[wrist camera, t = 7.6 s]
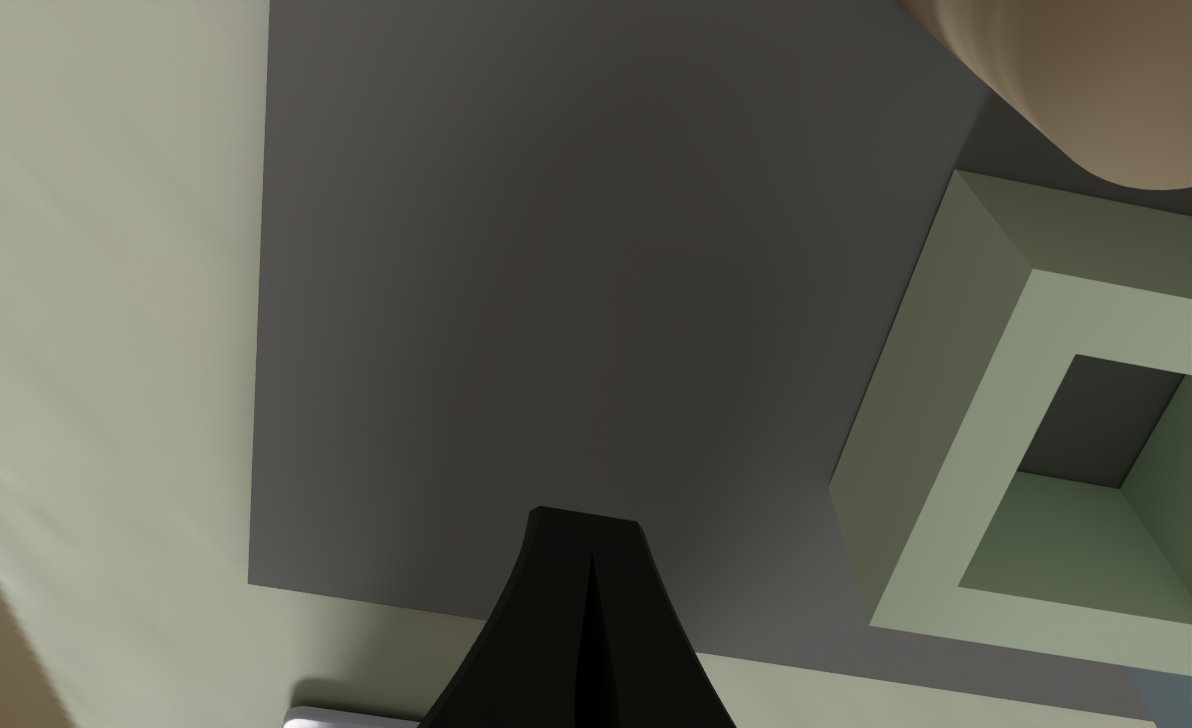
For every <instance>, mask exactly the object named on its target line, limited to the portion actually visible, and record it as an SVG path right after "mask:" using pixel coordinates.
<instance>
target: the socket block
mask: <svg viewBox="0 0 1192 728" xmlns="http://www.w3.org/2000/svg"><path fill="white" fill-rule="evenodd" d="M1075 354H1080V355H1085V356H1091V357H1096V358H1102V359H1107V360H1112V361H1118V362H1123V363H1129V364H1134V365H1139V366H1145V367H1150V368H1156V369H1161V370H1166V371H1172V372H1177V373H1182V374H1186V375H1185V377H1184V379H1183V380H1182V382H1181V384H1180V386H1179V387H1178V389H1177V391H1176V392H1175V394H1174V396H1173V398H1172V399H1171V401H1170V403H1169V405H1168V406H1167V408H1166V410H1165V411H1164V413H1163V415H1162V417H1161V418H1160V420H1159V422H1158V424H1157V425H1156V427H1155V429H1154V431H1153V432H1152V434H1151V436H1150V437H1149V439H1148V441H1147V443H1146V444H1145V446H1144V448H1143V450H1142V451H1141V453H1140V455H1139V457H1138V458H1137V460H1136V462H1135V463H1134V465H1133V467H1132V469H1131V470H1130V472H1129V474H1128V476H1127V477H1126V479H1125V481H1124V482H1123V484H1122V486H1121V488H1120V489H1116V488H1110V487H1105V486H1099V485H1093V484H1087V483H1082V482H1076V481H1070V480H1064V479H1059V478H1053V477H1047V476H1041V475H1036V474H1030V473H1024V472H1018V471H1016V470H1017V468H1018V466H1019V464H1020V462H1021V460H1022V458H1023V456H1024V454H1025V452H1026V450H1027V449H1028V447H1029V445H1030V443H1031V441H1032V439H1033V437H1034V435H1035V433H1036V431H1037V429H1038V427H1039V425H1040V423H1041V421H1042V419H1043V417H1044V415H1045V413H1046V411H1047V409H1048V407H1049V405H1050V403H1051V401H1052V399H1053V397H1054V395H1055V393H1056V391H1057V389H1058V387H1059V385H1060V383H1061V382H1062V380H1063V378H1064V376H1065V374H1066V372H1067V370H1068V368H1069V366H1070V364H1071V362H1072V360H1073V358H1074V356H1075ZM829 491H830V494H831V498H832V501H833V504H834V508H835V511H836V515H837V518H838V522H839V525H840V529H841V532H842V535H843V539H844V542H845V546H846V549H847V553H848V556H849V560H850V563H851V566H852V570H853V573H854V577H855V580H856V584H857V587H858V591H859V594H860V597H861V601H862V604H863V608H864V611H865V615H866V618H867V622H868V625H869V626H875V627H881V628H888V629H894V630H900V631H907V632H913V633H919V634H926V635H932V636H939V637H945V638H951V639H958V640H964V641H970V642H977V643H983V644H990V645H996V646H1002V647H1009V648H1015V649H1021V650H1028V651H1034V652H1041V653H1047V654H1053V655H1060V656H1066V657H1072V658H1079V659H1085V660H1092V661H1098V662H1104V663H1111V664H1117V665H1123V666H1130V667H1136V668H1142V669H1149V670H1155V671H1162V672H1168V673H1174V674H1181V675H1187V676H1192V217H1191V216H1186V215H1181V214H1176V213H1171V212H1166V211H1161V210H1156V209H1151V208H1146V207H1141V206H1136V205H1131V204H1126V203H1121V202H1116V201H1111V200H1106V199H1101V198H1096V197H1091V196H1086V195H1081V194H1076V193H1071V192H1067V191H1062V190H1057V189H1052V188H1047V187H1042V186H1037V185H1032V184H1027V183H1022V182H1017V181H1012V180H1007V179H1002V178H997V177H992V176H987V175H982V174H977V173H972V172H967V171H962V170H957V169H954V172H953V174H952V177H951V179H950V182H949V184H948V187H947V189H946V192H945V194H944V197H943V200H942V202H941V205H940V207H939V210H938V212H937V215H936V217H935V220H934V222H933V225H932V227H931V230H930V232H929V235H928V237H927V240H926V242H925V245H924V247H923V250H922V253H921V255H920V258H919V260H918V263H917V265H916V268H915V270H914V273H913V275H912V278H911V280H910V283H909V285H908V288H907V290H906V293H905V295H904V298H903V300H902V303H901V306H900V308H899V311H898V313H897V316H896V318H895V321H894V323H893V326H892V328H891V331H890V333H889V336H888V338H887V341H886V343H885V346H884V348H883V351H882V354H881V356H880V359H879V361H878V364H877V366H876V369H875V371H874V374H873V376H872V379H871V381H870V384H869V386H868V389H867V391H866V394H865V396H864V399H863V401H862V404H861V407H860V409H859V412H858V414H857V417H856V419H855V422H854V424H853V427H852V429H851V432H850V434H849V437H848V439H847V442H846V444H845V447H844V449H843V452H842V454H841V457H840V460H839V462H838V465H837V467H836V470H835V472H834V475H833V477H832V480H831V482H830V485H829Z"/></svg>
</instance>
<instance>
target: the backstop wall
mask: <svg viewBox="0 0 1192 728" xmlns="http://www.w3.org/2000/svg"><path fill="white" fill-rule="evenodd" d="M1124 668H1125V670H1126V672H1127V674H1128V675H1129V677H1130V679H1131V681H1132V683H1133V685H1134V686H1135V688H1136V690H1137V692H1138V694H1139V695H1140V697H1141V699H1142V701H1143V703H1144V705H1145V706H1146V708H1147V710H1148V712H1149V714H1150V715H1151V717H1152V719H1153V721H1154V723H1155V725H1156V726H1157V728H1192V676H1187V675H1181V674H1174V673H1168V672H1162V671H1155V670H1149V669H1142V668H1136V667H1130V666H1124Z"/></svg>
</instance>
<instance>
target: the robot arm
mask: <svg viewBox="0 0 1192 728" xmlns="http://www.w3.org/2000/svg"><path fill="white" fill-rule="evenodd" d="M282 728H737V727H736V726H735V724H734V722H733V721H732V719H731V717H730V716H729V714H728V712H727V710H726V709H725V707H724V705H723V703H722V702H721V700H720V698H719V696H718V695H717V693H716V691H715V689H714V688H713V686H712V684H711V682H710V680H709V679H708V677H707V675H706V673H705V671H704V669H703V667H702V665H701V663H700V662H699V660H698V657H697V655H696V653H695V651H694V649H693V647H692V645H691V643H690V641H689V639H688V637H687V635H686V633H685V631H684V629H683V627H682V625H681V623H680V621H679V618H678V616H677V614H676V612H675V610H674V607H673V605H672V603H671V601H670V598H669V596H668V594H667V591H666V589H665V587H664V584H663V582H662V579H661V577H660V574H659V572H658V569H657V567H656V564H655V562H654V559H653V556H652V554H651V551H650V548H649V545H648V543H647V540H646V537H645V534H644V530H643V529H642V528H641V526H640V525H639V523H638V522H637V521H631V520H625V519H619V518H613V517H607V516H601V515H595V514H589V513H583V512H577V511H570V510H564V509H558V508H552V507H546V506H538V507H536V508H535V509H533V510H531V511H529V515H528V520H527V525H526V529H525V534H524V539H523V543H522V548H521V550H520V553H519V556H518V558H517V561H516V563H515V565H514V568H513V570H512V573H511V575H510V577H509V580H508V582H507V584H506V586H505V588H504V589H503V591H502V593H501V595H500V597H499V599H498V601H497V603H496V605H495V607H494V609H493V611H492V613H491V615H490V617H489V619H488V621H487V623H486V624H485V626H484V628H483V630H482V631H481V633H480V634H479V636H478V638H477V639H476V641H475V643H474V644H473V646H472V647H471V649H470V651H469V652H468V654H467V656H466V657H465V659H464V661H463V662H462V664H461V665H460V667H459V669H458V670H457V672H456V673H455V675H454V676H453V678H452V679H451V681H450V682H449V684H448V685H447V687H446V688H445V690H444V691H443V692H442V694H441V695H440V697H439V698H438V699H437V701H436V702H435V704H434V705H433V706H432V708H431V709H430V710H429V712H428V713H427V714H426V716H425V717H424V718H423V720H422V721H421V722H414V721H407V720H400V719H393V718H386V717H379V716H372V715H365V714H358V713H351V712H344V711H337V710H330V709H323V708H316V707H309V706H298V707H294V708H291V709H290V710H289V711H287V713H286V715H285V718H284V721H283V724H282Z"/></svg>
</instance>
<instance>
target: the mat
mask: <svg viewBox="0 0 1192 728" xmlns="http://www.w3.org/2000/svg"><path fill="white" fill-rule="evenodd" d="M954 169H957V170H962V171H967V172H972V173H977V174H982V175H987V176H992V177H997V178H1002V179H1007V180H1012V181H1017V182H1022V183H1027V184H1032V185H1037V186H1042V187H1047V188H1052V189H1057V190H1062V191H1067V192H1071V193H1076V194H1081V195H1086V196H1091V197H1096V198H1101V199H1106V200H1111V201H1116V202H1121V203H1126V204H1131V205H1136V206H1141V207H1146V208H1151V209H1156V210H1161V211H1166V212H1171V213H1176V214H1181V215H1186V216H1191V217H1192V187H1189V188H1182V189H1171V190H1145V189H1138V188H1132V187H1126V186H1122V185H1119V184H1116V183H1113V182H1109V181H1106V180H1104V179H1102V178H1100V177H1098V176H1096V175H1094V174H1092V173H1090V172H1088V171H1087V170H1086V169H1084V168H1083V167H1081V166H1080V165H1078V164H1077V163H1075V162H1074V161H1073V160H1072V159H1071V158H1070V157H1069V156H1067V155H1066V154H1065V153H1064V152H1063V151H1062V150H1061V149H1060V148H1058V147H1057V146H1056V145H1055V144H1054V143H1053V142H1052V141H1050V140H1049V139H1048V138H1047V137H1046V136H1045V135H1044V134H1043V133H1041V132H1040V131H1039V130H1038V129H1037V128H1036V127H1035V126H1034V125H1032V124H1031V123H1030V122H1029V121H1028V120H1027V119H1026V118H1025V117H1023V116H1022V115H1021V114H1020V113H1019V112H1018V111H1017V110H1016V109H1014V108H1013V107H1012V106H1011V105H1010V104H1009V103H1008V102H1007V101H1005V100H1004V99H1003V98H1002V97H1001V96H1000V95H999V94H997V93H996V92H995V91H994V90H993V89H992V88H991V87H990V86H988V85H987V84H986V83H985V82H984V81H983V80H982V79H981V78H979V77H978V76H977V75H976V74H975V73H974V72H973V71H972V70H970V69H969V68H968V67H967V66H966V65H965V64H964V63H963V62H961V61H960V60H959V59H958V58H957V57H956V56H955V55H954V54H952V53H951V52H950V51H949V50H948V49H947V48H946V47H944V46H943V45H942V44H941V43H940V42H939V41H938V40H937V39H935V38H934V37H933V36H932V35H931V34H930V33H929V32H928V31H926V30H925V29H924V28H923V27H922V26H921V25H920V24H919V23H917V22H916V21H915V20H914V19H913V18H912V17H911V16H910V15H908V14H907V13H906V12H905V11H904V10H903V9H902V8H901V7H900V6H899V5H898V4H897V2H896V1H895V0H270V13H269V40H268V66H267V92H266V119H265V145H264V171H263V198H262V224H261V250H260V277H259V303H258V329H257V356H256V382H255V408H254V435H253V461H252V487H251V514H250V540H249V567H248V584H252V585H259V586H265V587H272V588H278V589H285V590H292V591H298V592H305V593H311V594H318V595H324V596H331V597H338V598H344V599H351V600H357V601H364V602H371V603H377V604H384V605H390V606H397V607H403V608H410V609H417V610H423V611H430V612H436V613H443V614H449V615H456V616H463V617H469V618H476V619H482V620H488V619H489V617H490V615H491V613H492V611H493V609H494V607H495V605H496V603H497V601H498V599H499V597H500V595H501V593H502V591H503V589H504V588H505V586H506V584H507V582H508V580H509V577H510V575H511V573H512V570H513V568H514V565H515V563H516V561H517V558H518V556H519V553H520V550H521V548H522V543H523V539H524V534H525V529H526V525H527V520H528V515H529V511H531V510H533V509H535V508H536V507H538V506H546V507H552V508H558V509H564V510H570V511H577V512H583V513H589V514H595V515H601V516H607V517H613V518H619V519H625V520H631V521H637V522H638V523H639V525H640V526H641V528H642V529H643V530H644V534H645V537H646V540H647V543H648V545H649V548H650V551H651V554H652V556H653V559H654V562H655V564H656V567H657V569H658V572H659V574H660V577H661V579H662V582H663V584H664V587H665V589H666V591H667V594H668V596H669V598H670V601H671V603H672V605H673V607H674V610H675V612H676V614H677V616H678V618H679V621H680V623H681V625H682V627H683V629H684V631H685V633H686V635H687V637H688V639H689V641H690V643H691V645H692V647H693V649H694V651H695V652H699V653H706V654H712V655H719V656H726V657H732V658H739V659H745V660H752V661H758V662H765V663H772V664H778V665H785V666H791V667H798V668H805V669H811V670H818V671H824V672H831V673H837V674H844V675H851V676H857V677H864V678H870V679H877V680H883V681H890V682H897V683H903V684H910V685H916V686H923V687H929V688H936V689H943V690H949V691H956V692H962V693H969V694H975V695H982V696H989V697H995V698H1002V699H1008V700H1015V701H1022V702H1028V703H1035V704H1041V705H1048V706H1054V707H1061V708H1068V709H1074V710H1081V711H1087V712H1094V713H1100V714H1107V715H1114V716H1120V717H1127V718H1133V719H1140V720H1146V721H1153V719H1152V717H1151V715H1150V714H1149V712H1148V710H1147V708H1146V706H1145V705H1144V703H1143V701H1142V699H1141V697H1140V695H1139V694H1138V692H1137V690H1136V688H1135V686H1134V685H1133V683H1132V681H1131V679H1130V677H1129V675H1128V674H1127V672H1126V670H1125V668H1124V666H1123V665H1117V664H1111V663H1104V662H1098V661H1092V660H1085V659H1079V658H1072V657H1066V656H1060V655H1053V654H1047V653H1041V652H1034V651H1028V650H1021V649H1015V648H1009V647H1002V646H996V645H990V644H983V643H977V642H970V641H964V640H958V639H951V638H945V637H939V636H932V635H926V634H919V633H913V632H907V631H900V630H894V629H888V628H881V627H875V626H869V625H868V622H867V618H866V615H865V611H864V608H863V604H862V601H861V597H860V594H859V591H858V587H857V584H856V580H855V577H854V573H853V570H852V566H851V563H850V560H849V556H848V553H847V549H846V546H845V542H844V539H843V535H842V532H841V529H840V525H839V522H838V518H837V515H836V511H835V508H834V504H833V501H832V498H831V494H830V491H829V485H830V482H831V480H832V477H833V475H834V472H835V470H836V467H837V465H838V462H839V460H840V457H841V454H842V452H843V449H844V447H845V444H846V442H847V439H848V437H849V434H850V432H851V429H852V427H853V424H854V422H855V419H856V417H857V414H858V412H859V409H860V407H861V404H862V401H863V399H864V396H865V394H866V391H867V389H868V386H869V384H870V381H871V379H872V376H873V374H874V371H875V369H876V366H877V364H878V361H879V359H880V356H881V354H882V351H883V348H884V346H885V343H886V341H887V338H888V336H889V333H890V331H891V328H892V326H893V323H894V321H895V318H896V316H897V313H898V311H899V308H900V306H901V303H902V300H903V298H904V295H905V293H906V290H907V288H908V285H909V283H910V280H911V278H912V275H913V273H914V270H915V268H916V265H917V263H918V260H919V258H920V255H921V253H922V250H923V247H924V245H925V242H926V240H927V237H928V235H929V232H930V230H931V227H932V225H933V222H934V220H935V217H936V215H937V212H938V210H939V207H940V205H941V202H942V200H943V197H944V194H945V192H946V189H947V187H948V184H949V182H950V179H951V177H952V174H953V172H954ZM1185 375H1186V374H1182V373H1177V372H1172V371H1166V370H1161V369H1156V368H1150V367H1145V366H1139V365H1134V364H1129V363H1123V362H1118V361H1112V360H1107V359H1102V358H1096V357H1091V356H1085V355H1080V354H1075V356H1074V358H1073V360H1072V362H1071V364H1070V366H1069V368H1068V370H1067V372H1066V374H1065V376H1064V378H1063V380H1062V382H1061V383H1060V385H1059V387H1058V389H1057V391H1056V393H1055V395H1054V397H1053V399H1052V401H1051V403H1050V405H1049V407H1048V409H1047V411H1046V413H1045V415H1044V417H1043V419H1042V421H1041V423H1040V425H1039V427H1038V429H1037V431H1036V433H1035V435H1034V437H1033V439H1032V441H1031V443H1030V445H1029V447H1028V449H1027V450H1026V452H1025V454H1024V456H1023V458H1022V460H1021V462H1020V464H1019V466H1018V468H1017V470H1016V471H1018V472H1024V473H1030V474H1036V475H1041V476H1047V477H1053V478H1059V479H1064V480H1070V481H1076V482H1082V483H1087V484H1093V485H1099V486H1105V487H1110V488H1116V489H1120V488H1121V486H1122V484H1123V482H1124V481H1125V479H1126V477H1127V476H1128V474H1129V472H1130V470H1131V469H1132V467H1133V465H1134V463H1135V462H1136V460H1137V458H1138V457H1139V455H1140V453H1141V451H1142V450H1143V448H1144V446H1145V444H1146V443H1147V441H1148V439H1149V437H1150V436H1151V434H1152V432H1153V431H1154V429H1155V427H1156V425H1157V424H1158V422H1159V420H1160V418H1161V417H1162V415H1163V413H1164V411H1165V410H1166V408H1167V406H1168V405H1169V403H1170V401H1171V399H1172V398H1173V396H1174V394H1175V392H1176V391H1177V389H1178V387H1179V386H1180V384H1181V382H1182V380H1183V379H1184V377H1185ZM1153 722H1154V721H1153Z"/></svg>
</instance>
